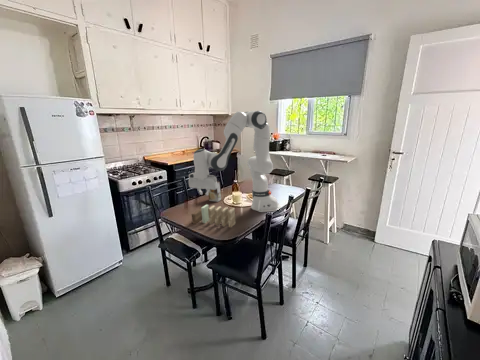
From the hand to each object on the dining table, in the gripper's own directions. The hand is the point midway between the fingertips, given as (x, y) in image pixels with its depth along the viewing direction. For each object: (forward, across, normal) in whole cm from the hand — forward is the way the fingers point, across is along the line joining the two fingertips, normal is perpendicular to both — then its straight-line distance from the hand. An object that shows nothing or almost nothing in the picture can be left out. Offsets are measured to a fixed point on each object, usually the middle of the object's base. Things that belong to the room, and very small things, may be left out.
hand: (204, 194), depth 153 cm
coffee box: (+20, +14, -38) cm, 45 cm away
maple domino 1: (+19, -5, 0) cm, 20 cm away
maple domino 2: (+19, -10, 0) cm, 22 cm away
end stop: (+19, +6, 0) cm, 20 cm away
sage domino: (+19, 0, 0) cm, 19 cm away
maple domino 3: (+19, -14, 0) cm, 24 cm away
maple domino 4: (+19, -19, 0) cm, 27 cm away
